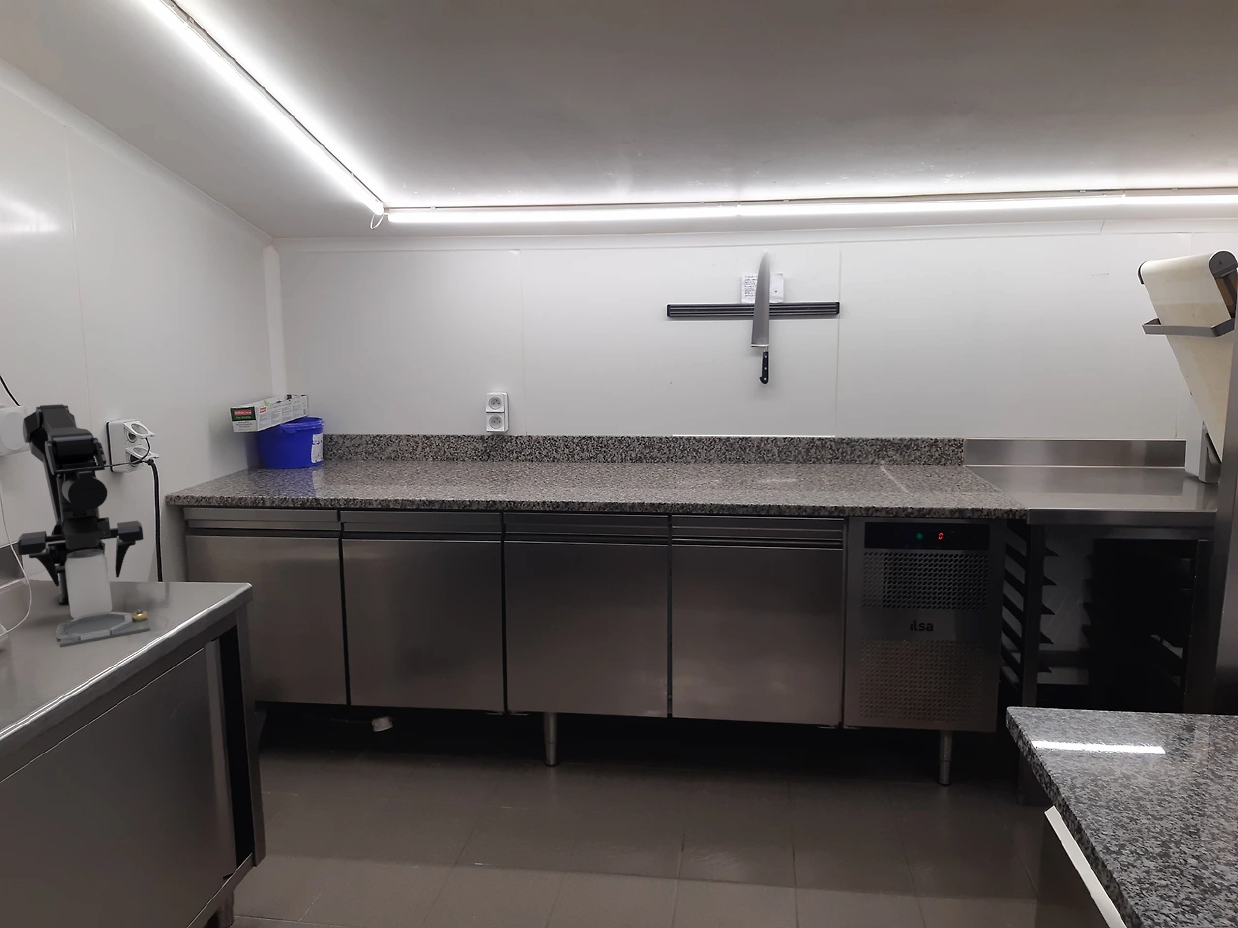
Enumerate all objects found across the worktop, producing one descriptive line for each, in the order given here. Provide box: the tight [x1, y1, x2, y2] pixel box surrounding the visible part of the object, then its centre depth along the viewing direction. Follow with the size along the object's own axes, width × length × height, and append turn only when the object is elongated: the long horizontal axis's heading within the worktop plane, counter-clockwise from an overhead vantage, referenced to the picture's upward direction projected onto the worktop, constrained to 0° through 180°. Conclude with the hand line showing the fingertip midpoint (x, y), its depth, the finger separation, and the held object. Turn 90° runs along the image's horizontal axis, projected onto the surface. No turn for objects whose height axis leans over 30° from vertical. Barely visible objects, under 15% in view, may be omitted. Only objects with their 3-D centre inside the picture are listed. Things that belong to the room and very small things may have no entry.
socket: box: [55, 610, 132, 641], centre depth 133 cm, size 11×11×1 cm
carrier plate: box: [59, 612, 151, 648], centre depth 134 cm, size 10×13×1 cm
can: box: [65, 549, 113, 619], centre depth 140 cm, size 6×6×12 cm
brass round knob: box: [132, 608, 149, 622], centre depth 137 cm, size 2×2×2 cm
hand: (88, 581), depth 140 cm, fingers open, 9 cm apart
